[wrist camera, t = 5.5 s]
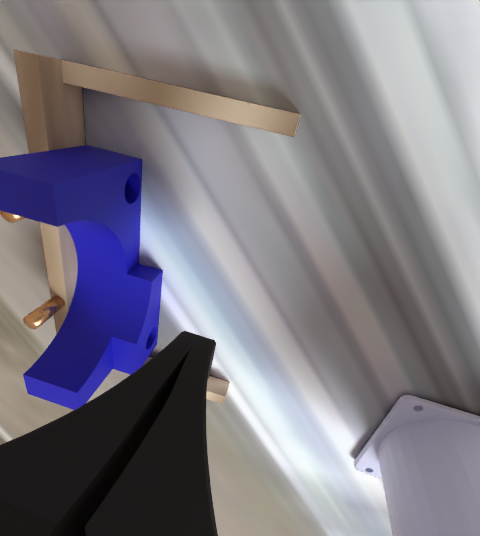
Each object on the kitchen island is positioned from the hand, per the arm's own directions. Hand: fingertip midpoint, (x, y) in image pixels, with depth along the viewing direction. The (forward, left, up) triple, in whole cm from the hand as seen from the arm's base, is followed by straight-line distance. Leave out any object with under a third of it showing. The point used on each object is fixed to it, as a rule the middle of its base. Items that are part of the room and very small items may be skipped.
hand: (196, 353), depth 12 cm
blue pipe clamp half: (+6, +1, -6) cm, 9 cm away
